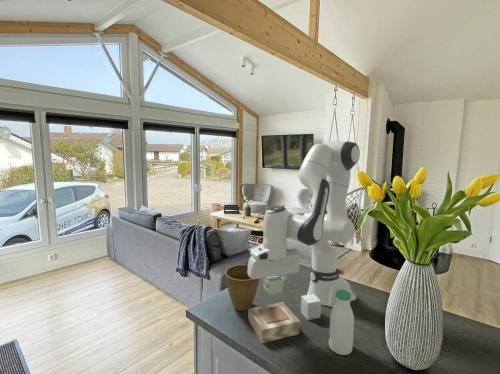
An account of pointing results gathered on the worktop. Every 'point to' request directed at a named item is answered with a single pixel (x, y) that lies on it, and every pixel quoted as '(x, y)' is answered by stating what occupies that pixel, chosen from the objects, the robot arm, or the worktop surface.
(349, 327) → the milk bottle
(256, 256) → the robot arm
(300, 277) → the worktop surface
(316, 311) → the product box
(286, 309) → the birch plinth
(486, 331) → the worktop surface
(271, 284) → the sage block
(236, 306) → the plant pot
